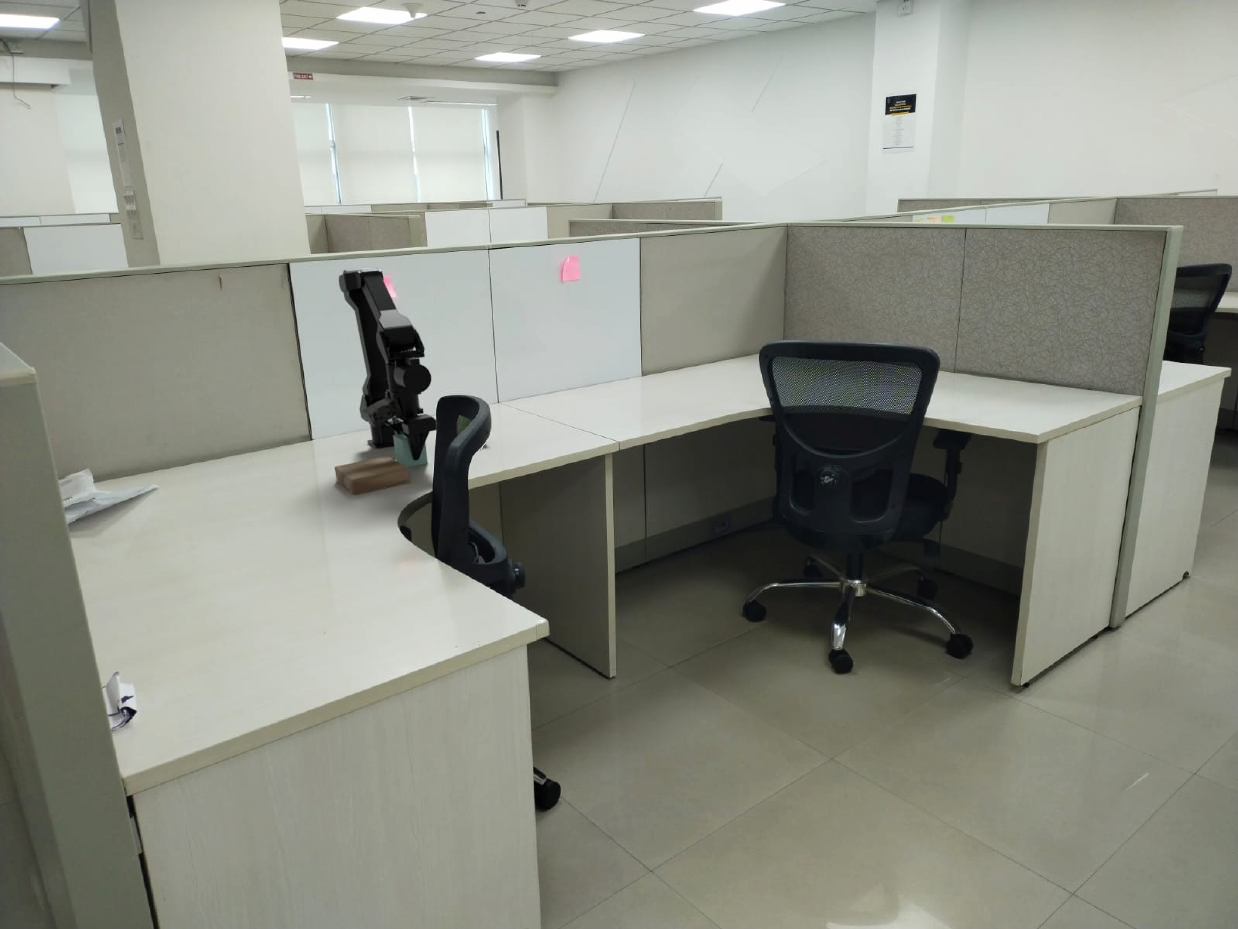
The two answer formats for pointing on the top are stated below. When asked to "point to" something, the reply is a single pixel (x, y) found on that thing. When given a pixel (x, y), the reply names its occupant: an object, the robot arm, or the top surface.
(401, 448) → the teal block
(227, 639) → the top surface
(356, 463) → the walnut base
